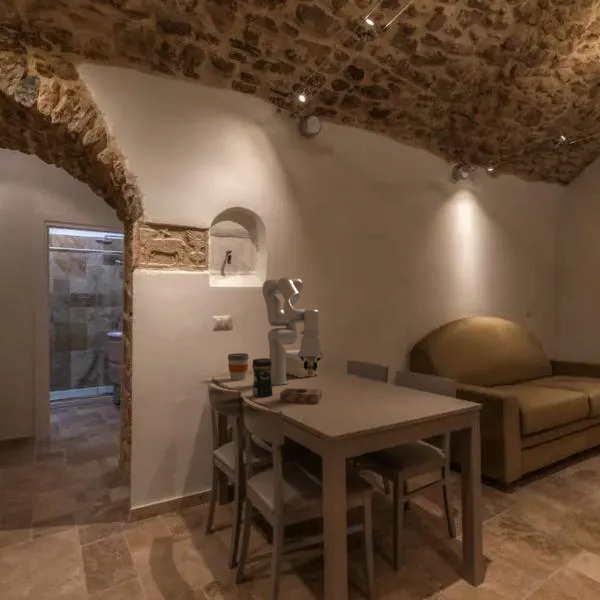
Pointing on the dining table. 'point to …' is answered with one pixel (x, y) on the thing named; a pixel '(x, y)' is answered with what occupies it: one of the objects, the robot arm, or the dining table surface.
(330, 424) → the dining table surface
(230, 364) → the reusable coffee cup
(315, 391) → the board
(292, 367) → the storage basket
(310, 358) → the peg
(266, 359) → the coffee jar
